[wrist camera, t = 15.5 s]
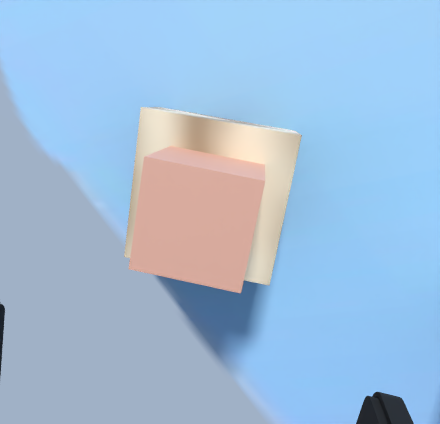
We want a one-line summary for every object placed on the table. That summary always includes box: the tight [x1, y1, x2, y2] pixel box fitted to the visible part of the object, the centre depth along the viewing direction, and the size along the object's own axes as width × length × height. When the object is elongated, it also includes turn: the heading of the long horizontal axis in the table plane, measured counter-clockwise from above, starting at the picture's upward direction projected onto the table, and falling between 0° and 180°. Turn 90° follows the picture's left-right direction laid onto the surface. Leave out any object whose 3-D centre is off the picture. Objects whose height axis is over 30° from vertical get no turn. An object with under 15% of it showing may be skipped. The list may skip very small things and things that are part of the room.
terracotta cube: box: [129, 146, 265, 293], centre depth 24 cm, size 6×6×6 cm
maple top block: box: [124, 107, 302, 285], centre depth 29 cm, size 10×10×5 cm
